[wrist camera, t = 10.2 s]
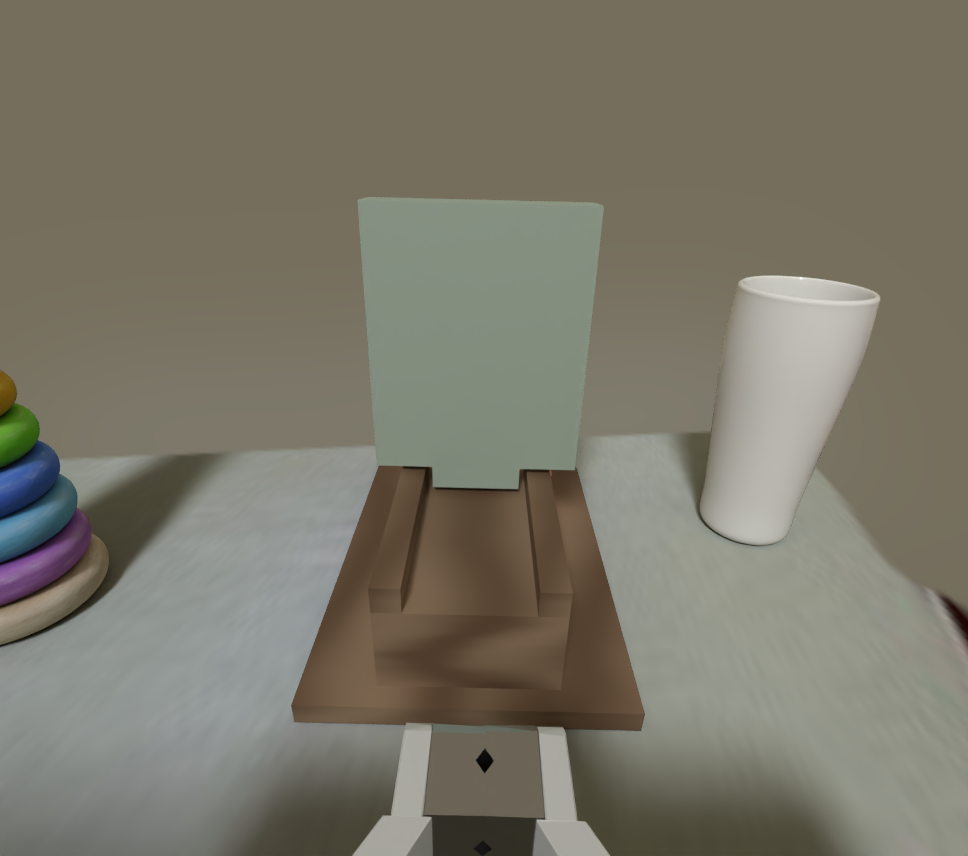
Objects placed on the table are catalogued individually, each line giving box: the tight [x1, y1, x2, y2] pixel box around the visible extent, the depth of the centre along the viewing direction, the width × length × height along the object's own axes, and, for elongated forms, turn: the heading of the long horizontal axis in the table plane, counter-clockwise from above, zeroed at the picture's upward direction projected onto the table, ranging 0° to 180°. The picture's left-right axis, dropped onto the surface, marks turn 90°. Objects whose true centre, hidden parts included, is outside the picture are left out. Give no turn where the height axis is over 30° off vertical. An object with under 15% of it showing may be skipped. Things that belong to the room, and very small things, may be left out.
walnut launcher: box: [291, 465, 645, 731], centre depth 30 cm, size 14×21×6 cm, turn 179°
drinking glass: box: [700, 276, 881, 545], centre depth 32 cm, size 7×7×15 cm
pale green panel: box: [358, 197, 604, 489], centre depth 26 cm, size 10×2×14 cm, turn 89°
